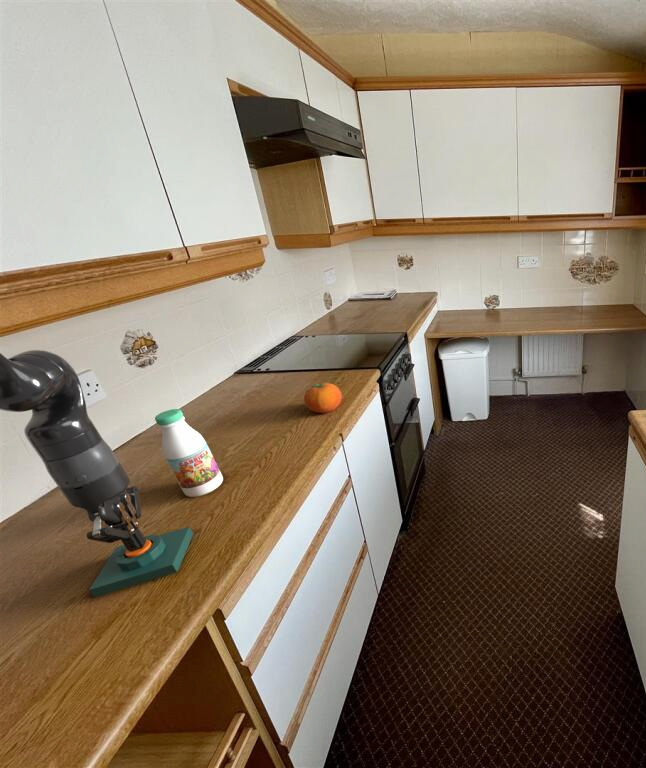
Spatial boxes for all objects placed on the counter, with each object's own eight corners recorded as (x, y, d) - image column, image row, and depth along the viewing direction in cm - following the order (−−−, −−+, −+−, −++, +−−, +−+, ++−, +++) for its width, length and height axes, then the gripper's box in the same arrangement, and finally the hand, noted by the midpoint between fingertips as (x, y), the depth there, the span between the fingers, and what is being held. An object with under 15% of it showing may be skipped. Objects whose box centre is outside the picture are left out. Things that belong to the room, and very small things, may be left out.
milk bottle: (176, 495, 93) (135, 421, 85) (208, 474, 100) (172, 403, 91) (201, 500, 91) (161, 424, 82) (231, 478, 98) (197, 406, 89)
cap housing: (95, 598, 70) (83, 582, 68) (121, 555, 78) (110, 540, 76) (178, 573, 73) (168, 557, 71) (194, 534, 82) (185, 519, 80)
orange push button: (126, 565, 72) (121, 558, 72) (134, 550, 75) (129, 543, 75) (150, 558, 74) (145, 551, 73) (157, 543, 77) (153, 537, 76)
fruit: (349, 409, 126) (342, 386, 122) (314, 421, 120) (306, 398, 116) (337, 398, 133) (331, 376, 130) (304, 409, 128) (297, 386, 124)
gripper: (80, 455, 71) (128, 529, 78) (33, 503, 59) (94, 584, 67) (132, 444, 73) (174, 516, 80) (96, 488, 62) (149, 567, 69)
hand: (138, 547), depth 74 cm, fingers closed
